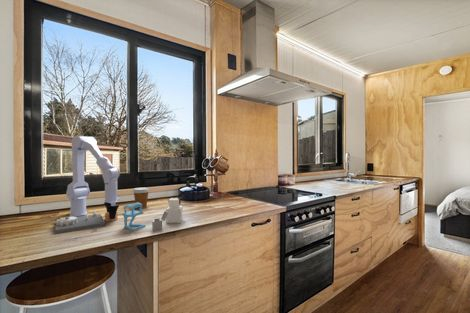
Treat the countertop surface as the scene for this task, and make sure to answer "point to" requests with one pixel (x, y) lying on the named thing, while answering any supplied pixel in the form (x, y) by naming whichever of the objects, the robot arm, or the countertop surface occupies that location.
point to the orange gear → (109, 217)
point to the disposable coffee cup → (141, 196)
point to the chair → (133, 215)
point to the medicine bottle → (174, 211)
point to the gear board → (79, 223)
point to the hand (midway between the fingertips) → (111, 216)
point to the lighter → (158, 222)
